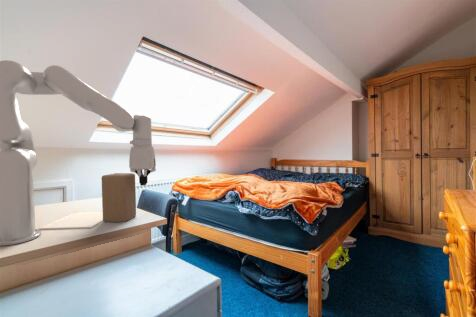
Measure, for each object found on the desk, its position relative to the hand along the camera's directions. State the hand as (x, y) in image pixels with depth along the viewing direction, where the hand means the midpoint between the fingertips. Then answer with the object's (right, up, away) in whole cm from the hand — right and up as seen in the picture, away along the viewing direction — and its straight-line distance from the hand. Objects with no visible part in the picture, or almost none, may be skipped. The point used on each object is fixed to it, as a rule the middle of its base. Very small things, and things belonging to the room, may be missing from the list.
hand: (143, 185), depth 101 cm
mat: (-26, -15, -1) cm, 30 cm away
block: (-10, -15, 0) cm, 18 cm away
